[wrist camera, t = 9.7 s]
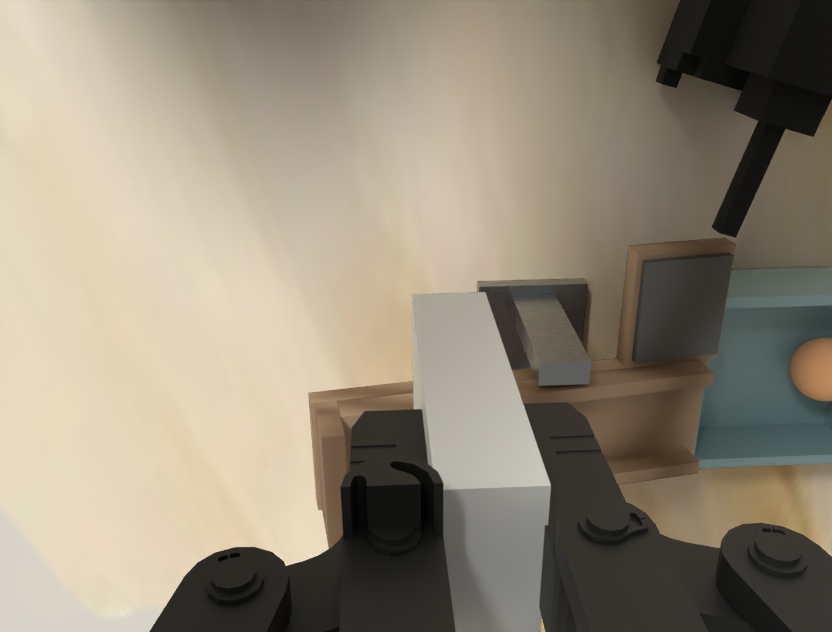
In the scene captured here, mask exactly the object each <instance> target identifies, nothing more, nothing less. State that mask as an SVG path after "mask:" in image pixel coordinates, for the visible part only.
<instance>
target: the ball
mask: <svg viewBox="0 0 832 632" xmlns="http://www.w3.org/2000/svg"><path fill="white" fill-rule="evenodd" d="M790 375H791V378H792V381H793V383H794V385H795V386H796V387H797V388H798V390H799V391H800V392H802V393H803V394H804V395H806V396H808V397H810V398H812V399H815V400H819V401H832V338H817V339H813V340H810V341H808V342H806V343H804V344H802V345H801V346H800V347H799V348H798V349H797V350H796V351H795V353H794V354H793V356H792V359H791V362H790Z"/></svg>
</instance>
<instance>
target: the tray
mask: <svg viewBox="0 0 832 632" xmlns="http://www.w3.org/2000/svg"><path fill="white" fill-rule="evenodd" d="M817 338H832V267H801V268H765V269H731V275H730V282H729V288H728V294H727V300H726V306H725V312H724V318H723V325H722V331H721V337H720V343H719V349H718V355H717V357H712V358H708V363H707V367H708V368H709V369H710V370H712V371H713V372H714V377H713V383H712V385H710V386H704V388H703V394H702V401H701V407H700V413H699V420H698V426H697V432H696V439H695V445H694V451H693V455H694V457H695V458H696V459H697V460H698V461H699V462H700V463H699V468H723V467H749V466H775V465H802V464H828V463H832V401H819V400H815V399H812V398H810V397H808V396H806V395H804V394H803V393H802V392H800V391H799V390H798V388H797V387H796V386H795V385H794V383H793V381H792V378H791V375H790V362H791V359H792V356H793V354H794V353H795V351H796V350H797V349H798V348H799V347H800V346H801V345H802V344H804V343H806V342H808V341H810V340H813V339H817Z"/></svg>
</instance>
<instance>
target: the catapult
mask: <svg viewBox="0 0 832 632" xmlns="http://www.w3.org/2000/svg"><path fill="white" fill-rule="evenodd" d="M735 245H736V244H734V243H733V242H731V241H729V240H727V239H726V238H713V239H701V240H689V241H677V242H665V243H653V244H641V245H630V246H628V253H627V263H626V272H625V282H624V292H623V301H622V311H621V320H620V330H619V339H618V349H617V358H615V359H606V360H597V361H591V371H590V382H589V384H575V385H545V386H538V384H537V381H536V378H535V376H534V373H533V371H532V368H526V369H517V370H512V372H513V375H514V378H515V381H516V384H517V387H518V390H519V393H520V396H521V399H522V402H523V404H525V403H554V402H568V403H569V404H570V405H572V406H573V407H574V408H575V409H577V410H578V411H579V412H580V413H582V414H583V415H584V416H585V417H586V418H587V420H588V422H589V424H590V426H591V428H592V431H593V433H594V435H595V439H597V441H598V443H599V446H600V448H601V452H602V454H604V456H605V458H606V461H607V463H608V465H609V467H610V469H611V471H612V473H613V476H614V478H615V480H616V482H617V484H618V485H620V484H627V483H634V482H641V481H648V480H655V479H662V478H669V477H676V476H683V475H690V474H697V473H698V469H699V463H700V462H699V461H698V460H697V459H696V458H695V457H694V455H693V451H694V445H695V439H696V432H697V426H698V420H699V413H700V407H701V401H702V394H703V388H704V386H710V385H712V383H713V377H714V372H713V371H712V370H710V369H709V368H708V367H707V363H708V358H712V357H717V355H718V349H719V343H720V337H721V331H722V325H723V318H724V312H725V306H726V300H727V294H728V288H729V282H730V275H731V269H732V263H733V257H734V251H735ZM308 395H309V408H310V421H311V435H312V448H313V462H314V475H315V488H316V500H317V506H318V510H322V511H323V517H324V523H325V529H326V534H327V540H328V546H329V549H330V548H331V547H332V546H333V545H334V544H336V543H337V542H338V541H339V540H340V538H341V537H342V535H343V523H342V507H341V490H340V487H341V484H342V482H343V479H344V476H345V475H346V474H347V473H348V472H349V471H350V454H351V431H352V427H353V425H354V424H355V423H356V421H357V420H358V419H359V417H360V416H361V415H362V414H363V412H364V411H382V410H411V409H414V399H413V381H410V382H401V383H392V384H383V385H374V386H365V387H356V388H348V389H339V390H330V391H321V392H312V393H308Z"/></svg>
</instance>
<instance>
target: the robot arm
mask: <svg viewBox="0 0 832 632" xmlns="http://www.w3.org/2000/svg"><path fill="white" fill-rule="evenodd" d="M412 321H413V399H414V409H411V410H382V411H364V412H363V414H362V415H361V416H360V417H359V419H358V420H357V421H356V423H355V424H354V425H353V427H352V431H351V454H350V471H349V472H348V473H347V474H346V475H345V476H344V479H343V482H342V484H341V487H340V490H341V507H342V523H343V535H342V537H341V538H340V540H339V541H338V542H337V543H336V544H334V545H333V546H332V547H331V548H330V549H328V550H327V551H325V552H323V553H322V554H320V555H318V556H316V557H313V558H311V559H308V560H305V561H303V562H299V563H295V564H292V565H288V566H285V563H284V561H282V560H281V559H280V558H279V557H277V556H276V555H275V554H274V553H272V552H270V551H266V550H263V549H259V548H256V547H235V548H231V549H227V550H224V551H220V552H216V553H214V554H212V555H210V556H209V557H207V558H205V559H203V560H202V561H200V562H198V563H197V564H196V565H195V566H194V567H193V568H192V569H191V570H190V571H189V572H188V573H187V574H186V576H185V577H184V578H183V580H182V582H181V583H180V585H179V586H178V588H177V589H176V591H175V593H174V594H173V596H172V597H171V599H170V600H169V602H168V603H167V605H166V607H165V608H164V610H163V611H162V613H161V614H160V616H159V618H158V619H157V621H156V622H155V624H154V625H153V627H152V629H151V630H150V632H540V631H541V617H542V620H543V623H544V627H545V631H546V632H832V557H831V556H830V555H829V554H828V553H827V552H826V551H824V550H823V549H822V548H821V547H820V546H819V545H817V544H816V543H814V542H813V541H811V540H810V539H808V538H807V537H805V536H804V535H802V534H800V533H797V532H795V531H792V530H790V529H787V528H784V527H782V526H776V525H770V524H764V523H754V524H742V525H740V526H738V527H735V528H733V529H731V530H729V531H728V532H727V534H726V535H725V536H724V538H723V539H722V541H721V547H720V548H714V547H709V546H703V545H697V544H692V543H686V542H682V541H679V540H675V539H671V538H668V537H666V536H663V535H661V534H660V533H659V531H658V529H657V527H656V525H655V524H654V522H653V521H652V520H651V519H650V517H649V516H648V515H647V514H646V513H645V512H643V511H642V510H640V509H638V508H637V507H635V506H634V505H632V504H630V503H626V501H625V499H624V497H623V495H622V493H621V491H620V488H619V486H618V484H617V482H616V480H615V478H614V476H613V473H612V471H611V469H610V467H609V465H608V463H607V461H606V458H605V456H604V454H602V452H601V448H600V446H599V443H598V441H597V439H595V435H594V433H593V431H592V428H591V426H590V424H589V422H588V420H587V418H586V417H585V416H584V415H583V414H582V413H580V412H579V411H578V410H577V409H575V408H574V407H573V406H572V405H570V404H569V403H568V402H554V403H525V404H523V402H522V399H521V396H520V393H519V390H518V387H517V384H516V381H515V378H514V375H513V372H512V369H511V366H510V363H509V361H508V358H507V355H506V352H505V349H504V346H503V343H502V340H501V337H500V334H499V331H498V328H497V325H496V322H495V319H494V316H493V313H492V310H491V307H490V305H489V302H488V299H487V296H486V293H485V292H472V293H437V294H412Z"/></svg>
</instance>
